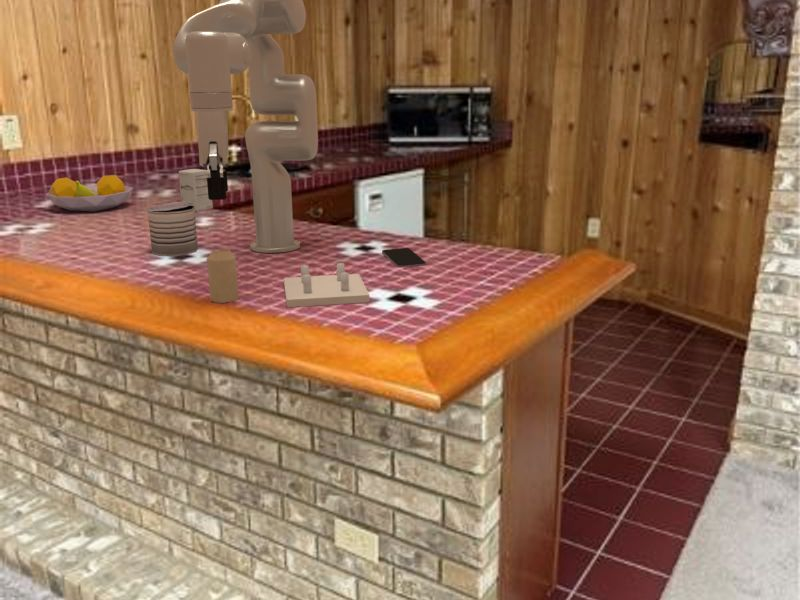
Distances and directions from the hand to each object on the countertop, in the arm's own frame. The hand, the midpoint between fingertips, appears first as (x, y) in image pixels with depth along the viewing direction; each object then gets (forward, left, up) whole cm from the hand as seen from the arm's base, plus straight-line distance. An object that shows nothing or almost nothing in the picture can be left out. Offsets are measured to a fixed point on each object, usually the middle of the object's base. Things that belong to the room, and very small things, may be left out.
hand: (218, 195), depth 141 cm
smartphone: (-25, +41, -21) cm, 52 cm away
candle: (0, 0, -21) cm, 21 cm away
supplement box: (-106, -13, -21) cm, 109 cm away
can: (-45, -14, -21) cm, 52 cm away
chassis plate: (0, +20, -21) cm, 29 cm away
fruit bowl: (-114, -48, -21) cm, 126 cm away
